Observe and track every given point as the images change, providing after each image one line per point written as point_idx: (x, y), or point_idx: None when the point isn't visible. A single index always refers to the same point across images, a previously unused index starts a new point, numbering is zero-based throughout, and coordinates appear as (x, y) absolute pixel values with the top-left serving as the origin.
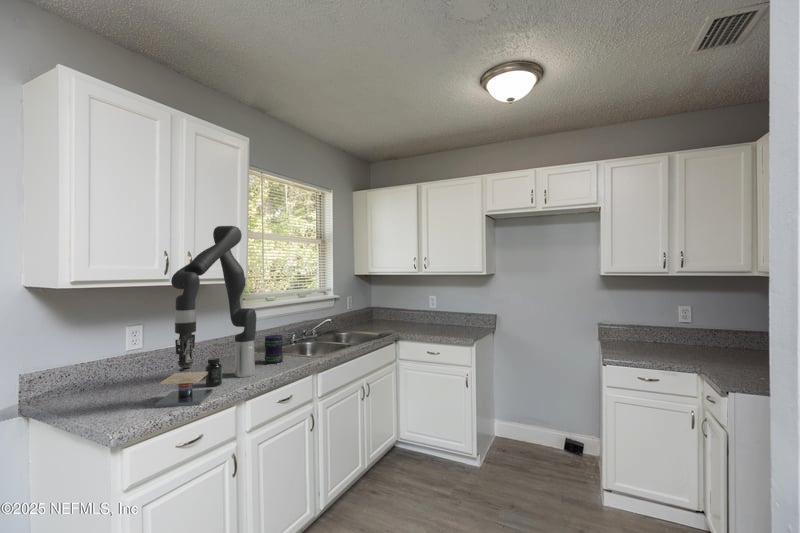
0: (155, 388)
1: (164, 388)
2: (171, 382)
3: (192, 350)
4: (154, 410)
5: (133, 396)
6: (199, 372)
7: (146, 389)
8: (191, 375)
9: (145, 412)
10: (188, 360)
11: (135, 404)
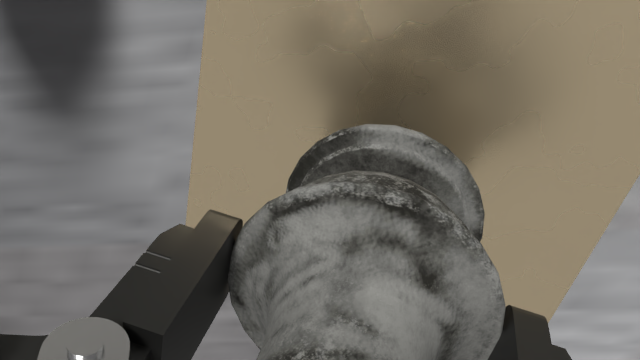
0: (67, 268)
1: (76, 224)
2: (563, 289)
3: (89, 323)
4: (596, 261)
5: (205, 356)
6: (233, 13)
7: (80, 307)
8: (368, 106)
9: (607, 304)
10: (438, 285)
11: None
